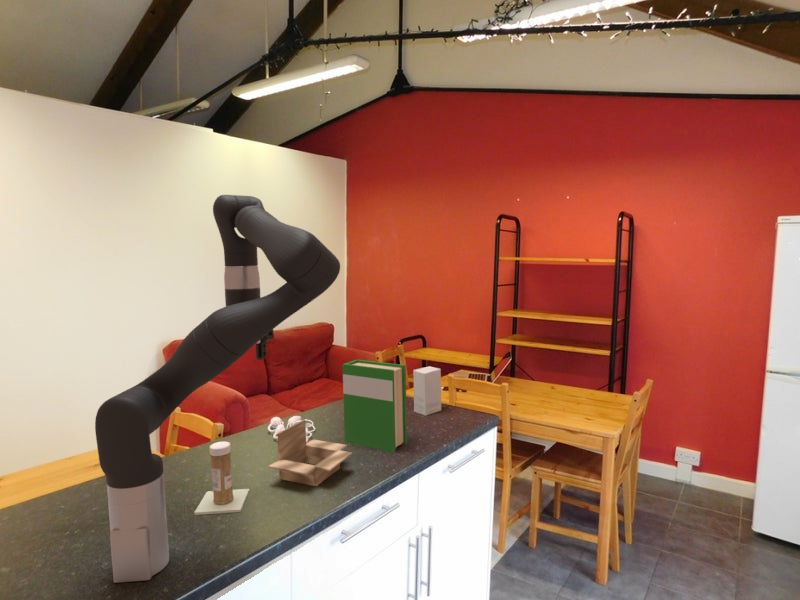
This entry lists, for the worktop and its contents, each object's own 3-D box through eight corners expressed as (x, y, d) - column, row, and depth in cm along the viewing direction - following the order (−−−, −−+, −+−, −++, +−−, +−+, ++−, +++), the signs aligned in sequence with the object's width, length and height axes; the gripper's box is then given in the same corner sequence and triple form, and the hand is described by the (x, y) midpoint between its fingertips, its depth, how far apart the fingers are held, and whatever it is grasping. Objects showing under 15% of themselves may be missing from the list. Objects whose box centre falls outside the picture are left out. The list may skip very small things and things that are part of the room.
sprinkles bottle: (235, 501, 116) (232, 445, 115) (215, 507, 114) (211, 449, 113) (230, 493, 120) (227, 439, 119) (210, 499, 118) (207, 443, 116)
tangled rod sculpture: (321, 446, 154) (321, 433, 154) (272, 450, 149) (273, 436, 149) (309, 424, 172) (310, 413, 172) (266, 427, 167) (266, 415, 167)
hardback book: (407, 443, 151) (405, 365, 149) (393, 452, 145) (392, 370, 142) (359, 433, 160) (357, 359, 158) (344, 441, 154) (342, 364, 152)
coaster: (240, 512, 113) (240, 509, 113) (194, 515, 112) (194, 512, 112) (249, 491, 123) (249, 488, 123) (207, 493, 122) (207, 491, 122)
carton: (360, 464, 137) (359, 421, 136) (320, 496, 119) (319, 447, 118) (313, 456, 143) (311, 415, 142) (269, 485, 126) (267, 438, 124)
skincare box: (430, 407, 186) (429, 365, 185) (442, 411, 181) (442, 368, 180) (413, 412, 181) (412, 369, 179) (425, 416, 176) (424, 372, 174)
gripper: (279, 285, 113) (282, 357, 114) (230, 284, 119) (233, 352, 120) (256, 288, 106) (259, 363, 107) (205, 287, 112) (209, 359, 113)
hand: (246, 358), depth 114 cm, fingers open, 8 cm apart
